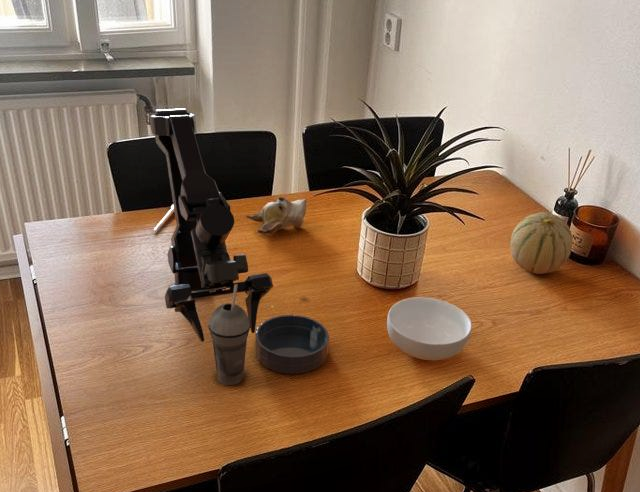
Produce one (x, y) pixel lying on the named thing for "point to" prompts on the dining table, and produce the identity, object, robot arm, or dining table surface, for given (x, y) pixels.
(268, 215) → the ceramic sculpture
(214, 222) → the robot arm
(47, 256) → the dining table surface
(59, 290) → the dining table surface
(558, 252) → the cantaloupe
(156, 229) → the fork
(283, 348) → the dark gray pet bowl
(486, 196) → the dining table surface
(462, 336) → the cereal bowl
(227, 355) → the beverage cup
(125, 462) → the dining table surface
